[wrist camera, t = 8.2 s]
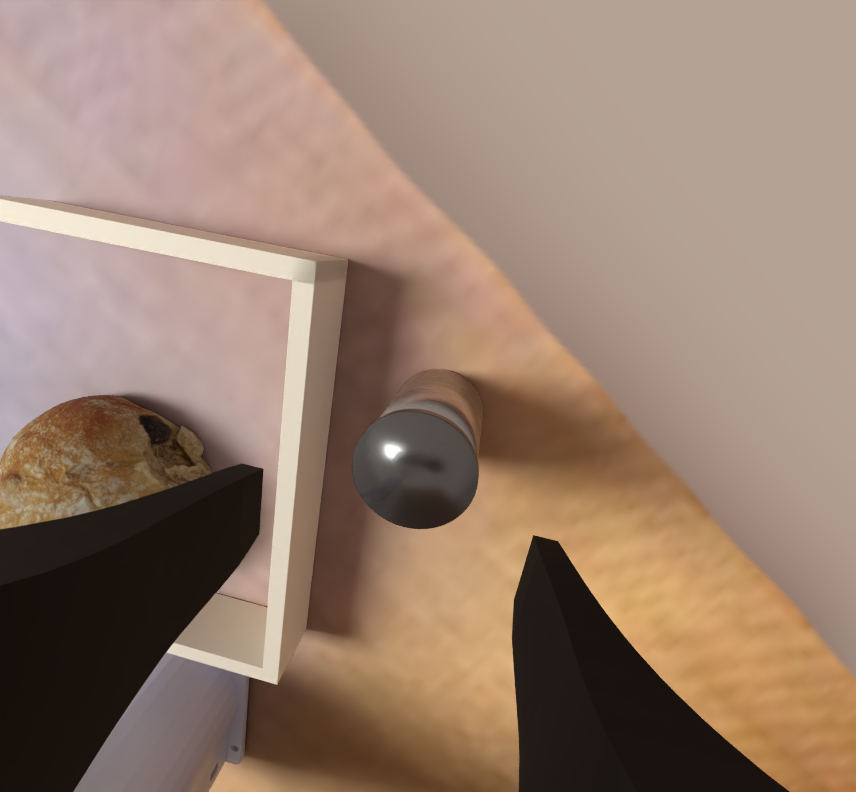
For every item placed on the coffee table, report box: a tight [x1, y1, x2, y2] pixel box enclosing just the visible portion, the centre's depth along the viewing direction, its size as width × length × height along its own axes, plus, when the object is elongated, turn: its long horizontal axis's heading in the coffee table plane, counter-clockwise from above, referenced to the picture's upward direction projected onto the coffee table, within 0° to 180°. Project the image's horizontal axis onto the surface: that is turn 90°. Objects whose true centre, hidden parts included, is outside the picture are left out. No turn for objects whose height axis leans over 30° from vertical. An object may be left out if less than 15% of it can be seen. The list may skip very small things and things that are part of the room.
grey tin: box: [352, 369, 483, 529], centre depth 18 cm, size 4×4×6 cm
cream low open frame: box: [0, 195, 349, 685], centre depth 22 cm, size 20×14×4 cm
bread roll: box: [0, 395, 212, 529], centre depth 23 cm, size 10×10×8 cm
